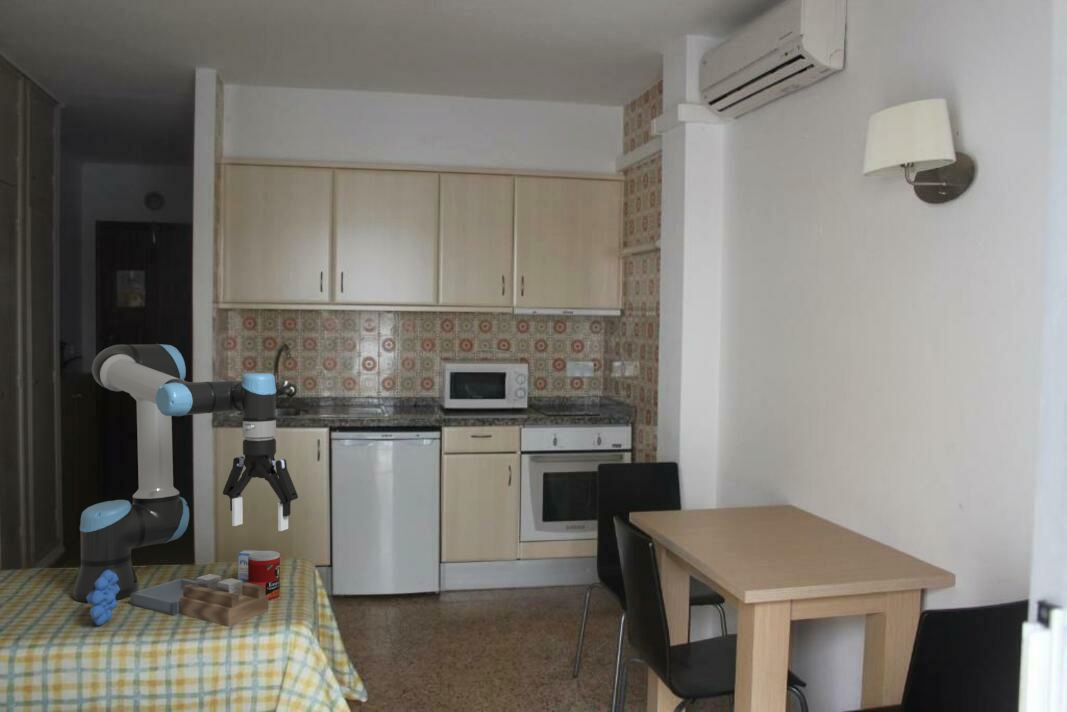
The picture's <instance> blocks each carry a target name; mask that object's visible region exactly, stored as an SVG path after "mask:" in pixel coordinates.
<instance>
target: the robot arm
mask: <svg viewBox="0 0 1067 712" xmlns="http://www.w3.org/2000/svg"><path fill="white" fill-rule="evenodd" d="M185 363H186V362H185V360H184V357H183V356H182V353H181V352H180V351H179V350H178V349H177V348H176V347H175V346H173V345H170V344H161V343H160V344H159V343H155V344H150V343H149V344H148V343H147V344H114V345H112V346H111V345H110V346H108V347H107V348H104V349H103V350H102V351H100V352H99V353H98V354H97V355H96V356H95V358H94V359H93V362H92V365H91V374H92V376H93V379H94V380H95V382H96V383H98V385H100V386H101V387H102V388H105V389H108V390H110V391H113V392H122V391H123V392H125V393H128V394H129V395H130V396H131V397H132V398H133V399H134V400H135V401H136V425H137V426H136V427H137V428H136V429H137V465H138V468H137V469H138V472H137V473H138V476H137V477H138V489H137V490H136V492H135V493H133V495H132V504H131V502H130V501H129V500H125V499H115V500H107V501H103V502H99V503H96V504H93V505H90V506H88V507H86V508H85V509H84V510H83V511H82V512H81V514H80V515H81V516H80V525H79V531H80V537H79V538H80V569H79V571H78V575H77V577H76V580H75V584H74V586H73V599H74V600H75V601H76V602H82V603H88V601H87V599H86V597H87V595H88V594H89V593H90V592H91V591H94V590H95V589H96V588H95V585H94V583H95V582H96V580H97V579H98V578H100V576H101V574H102V573H103V572H104V571H105V570H111V571H112V572H114V573H116V575H117V576H118V578H119V580H118V581H117V582H116V584H117V585H118V586H119V588H120V591H119V592H118V594H117V595H116V597H115V599H116V600H120V599H121V600H122V599H125V598H128V597H131V593H132V592H136V591H139V590H140V589H139V588H140V587H139V579H138V577H137V574H136V571H135V569H134V566H133V563H132V550H133V549H138V548H141V547H147V546H151V545H157V544H166V543H168V542H171V541H174V540H178V539H179V538H181V537H182V536H183V535H184V533H186V530H187V529H188V525H189V522H190V521H189V520H190V509H189V506H188V503H187V501H186V499H185V498H184V497H181V496H180V490H178V489H177V488H176V487H174V474H173V473H174V470H173V469H174V464H173V463H174V462H173V458H174V457H173V429H172V427H173V422H172V421H173V420H172V417H173V416H174V417H182V416H191V415H202V414H215V413H216V414H217V413H229V412H230V413H231V412H241V413H242V437H243V438H245V439H243V440H242V455H243V456H236V457H234V458H233V462H232V468H231V471H230V473H229V476H228V477H227V480H226V483H225V486H224V487H223V490H222V495H224V496H227V497H229V504H230V506H229V508H230V511H231V516H232V517H231V521H232V522H231V525H232V526H231V527H237V526H240V525H244V522H243V519H244V518H243V513H244V512H243V511H244V510H243V505H244V504H243V497H242V492H244V490H245V488H246V487H247V486H248V484H249V483H250V481H251V480H252V479H253V478H259V479H264V480H265V481H267V483H269V486H270V487H271V489H272V490H273V491H274V493H275V494H276V497H277V498H278V499H279V502H277V522H278V523H277V528H278V529H277V530H278V532H283V531H285V530H288V529H289V516H291V502H292V501H295V500H297V499H298V498H299V495H298V493H297V490H296V488H295V484H294V482H293V480H292V478H291V475H290V473H289V472H290V471H289V470H288V466H287V459H286V458H285V459H280V460H276V459H275V455H276V453H277V440H276V438H274V437H276V436H277V420H276V416H277V388H276V376H275V375H274V374H272V373H268V372H262V373H261V372H254V373H253V372H252V373H244V374H243V375H242V379H241V380H234V379H222V380H218V381H217V380H214V381H198V382H197V381H196V382H195V381H194V382H193V381H191V382H190V381H186V380H185V378H186V374H187V373H186V371H187V369H186V368H187V367H186V364H185ZM244 467H245V469H244Z"/></svg>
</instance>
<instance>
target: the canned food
mask: <svg viewBox="0 0 1067 712" xmlns="http://www.w3.org/2000/svg"><path fill="white" fill-rule="evenodd" d="M257 551H258V552H254V553H251V554H249V556H248V583H251V584H256V585H261V586H265V595H268V601H271V600H272V599H273V600H275V599H278V597H280V594H281V555H280V552H278V551H275V550H257ZM273 600H272V601H273Z"/></svg>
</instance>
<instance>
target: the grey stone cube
mask: <svg viewBox="0 0 1067 712" xmlns="http://www.w3.org/2000/svg"><path fill="white" fill-rule="evenodd" d="M221 577H222V575H217V574H212V573H208V574H205V575H202V576H197V577H196V580H195V581H196V586H200V587H205V588H209V589H213V590H217V582H220V581H221Z"/></svg>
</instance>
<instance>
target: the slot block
mask: <svg viewBox="0 0 1067 712" xmlns="http://www.w3.org/2000/svg"><path fill="white" fill-rule="evenodd" d="M227 579H229V578H227V577H222V576H221V581H223V580H227ZM268 612H269V600H268V595H265V586H261V585H256V584H251V583H247V582H242V597H241V598H239V595H236V594H231V593H227V592H222V591H218V590H213V589H209V588H205V587H200V586H196V585H191V584H190V585H186V586H183V597H181V598H180V614H179V615H182V616H186V617H189V618H193V619H197V620H202V621H204V622H205V621H206V622H209V623H212V624H213V623H214V624H218V625H221V626H226V627H231V626H233V625H236V624H239V623H242V622H244V621H247V620H249V619H252V618H255V616H256V617H259V616H261V615H263V613H264V614H266V613H268Z"/></svg>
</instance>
